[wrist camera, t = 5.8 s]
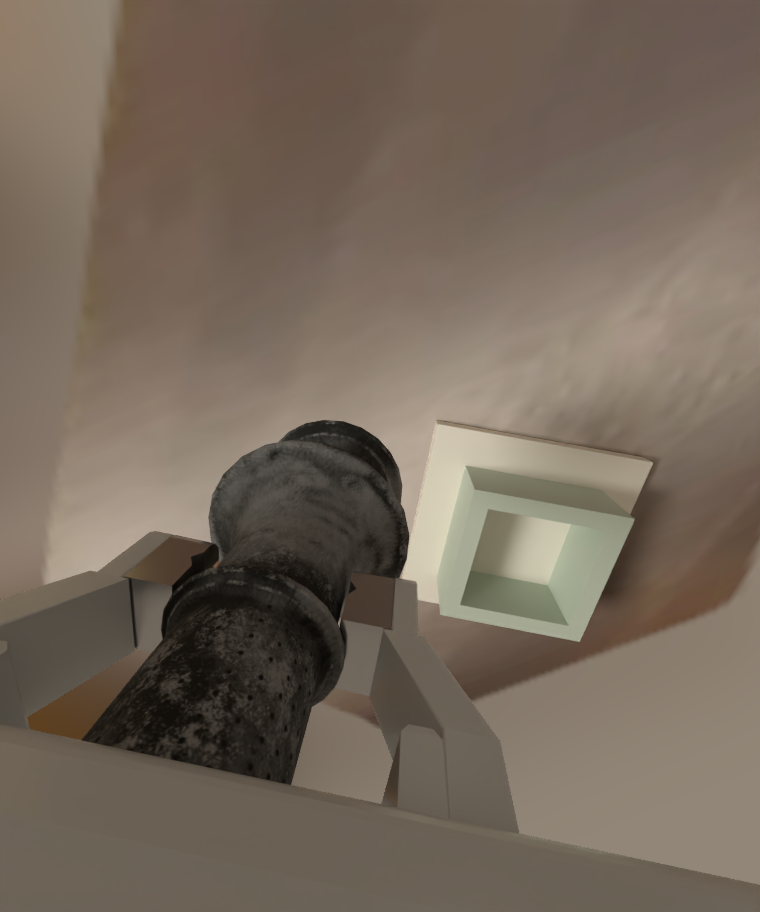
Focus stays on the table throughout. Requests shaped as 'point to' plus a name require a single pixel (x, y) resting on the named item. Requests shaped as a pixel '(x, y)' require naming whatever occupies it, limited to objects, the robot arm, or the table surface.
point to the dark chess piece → (265, 605)
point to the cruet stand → (520, 528)
